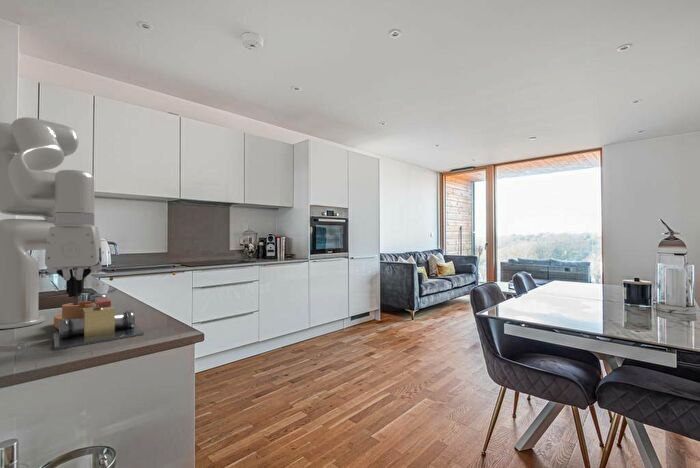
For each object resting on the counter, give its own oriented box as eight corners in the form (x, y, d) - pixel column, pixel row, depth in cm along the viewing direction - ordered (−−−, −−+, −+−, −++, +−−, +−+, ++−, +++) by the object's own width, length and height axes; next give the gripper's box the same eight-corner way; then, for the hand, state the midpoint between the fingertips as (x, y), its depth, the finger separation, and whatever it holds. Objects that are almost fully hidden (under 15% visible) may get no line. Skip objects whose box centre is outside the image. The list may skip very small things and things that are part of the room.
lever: (89, 300, 90) (89, 294, 90) (106, 298, 92) (106, 293, 92) (95, 308, 80) (95, 302, 80) (113, 306, 82) (113, 300, 82)
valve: (53, 335, 88) (53, 301, 88) (132, 323, 101) (133, 294, 101) (54, 349, 77) (55, 311, 77) (143, 334, 90) (144, 301, 90)
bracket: (103, 327, 94) (103, 302, 95) (65, 333, 88) (66, 307, 88) (85, 319, 106) (85, 297, 106) (51, 324, 99) (51, 301, 99)
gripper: (27, 220, 75) (27, 301, 75) (107, 220, 81) (107, 296, 80) (43, 221, 82) (43, 296, 82) (115, 222, 88) (115, 291, 87)
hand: (75, 295), depth 81 cm, fingers closed
